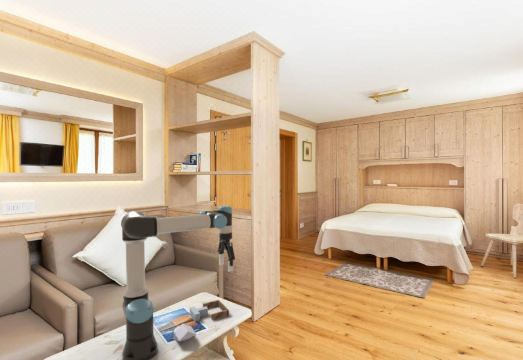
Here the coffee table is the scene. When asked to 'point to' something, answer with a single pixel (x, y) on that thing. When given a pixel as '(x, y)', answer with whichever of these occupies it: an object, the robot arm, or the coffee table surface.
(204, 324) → the coffee table surface
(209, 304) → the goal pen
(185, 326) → the pale lavender faceted block
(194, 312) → the t block
